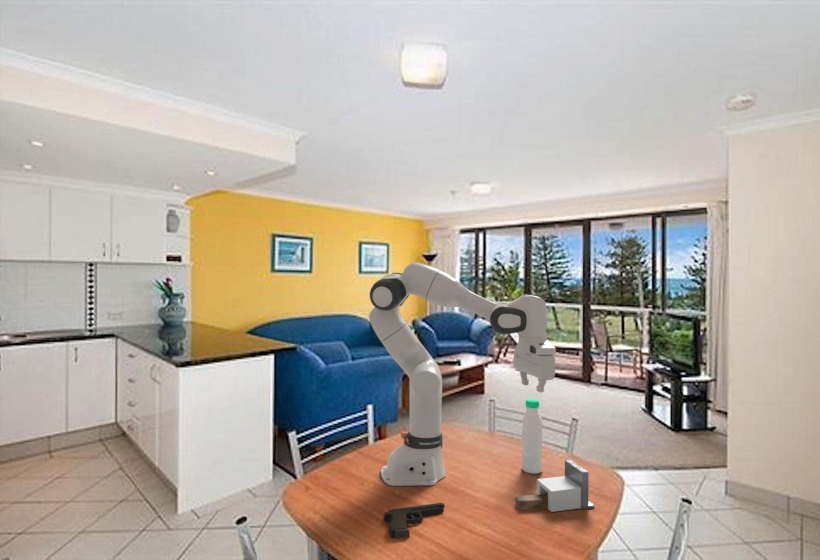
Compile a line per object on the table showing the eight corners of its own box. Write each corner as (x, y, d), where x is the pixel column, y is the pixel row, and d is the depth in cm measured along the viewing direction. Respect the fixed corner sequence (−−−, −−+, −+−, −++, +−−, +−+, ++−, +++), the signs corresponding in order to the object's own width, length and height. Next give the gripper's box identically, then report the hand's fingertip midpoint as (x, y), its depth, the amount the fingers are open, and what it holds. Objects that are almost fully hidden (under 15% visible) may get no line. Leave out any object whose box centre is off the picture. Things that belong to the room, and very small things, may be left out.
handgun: (458, 521, 118) (442, 499, 129) (391, 531, 112) (380, 507, 124) (458, 531, 118) (442, 508, 129) (390, 542, 112) (380, 517, 124)
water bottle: (543, 475, 150) (543, 403, 150) (522, 473, 152) (522, 402, 152) (541, 467, 157) (541, 398, 157) (521, 465, 159) (521, 397, 159)
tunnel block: (551, 511, 126) (551, 491, 126) (536, 498, 134) (537, 479, 134) (581, 508, 129) (581, 487, 129) (565, 495, 136) (565, 475, 136)
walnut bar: (519, 511, 128) (519, 500, 128) (515, 505, 131) (515, 495, 131) (564, 508, 129) (564, 498, 129) (559, 503, 132) (559, 493, 132)
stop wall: (582, 509, 128) (582, 472, 128) (564, 494, 137) (564, 460, 137) (594, 507, 129) (594, 471, 129) (575, 493, 138) (575, 458, 138)
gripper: (508, 341, 149) (508, 381, 148) (540, 350, 129) (540, 396, 129) (525, 340, 150) (525, 380, 150) (559, 349, 130) (559, 395, 130)
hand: (532, 388), depth 139 cm, fingers open, 8 cm apart
